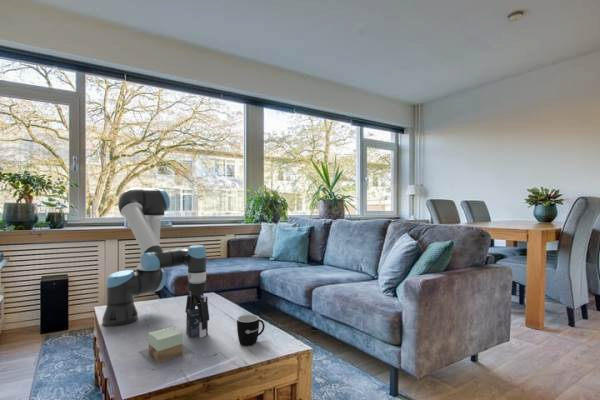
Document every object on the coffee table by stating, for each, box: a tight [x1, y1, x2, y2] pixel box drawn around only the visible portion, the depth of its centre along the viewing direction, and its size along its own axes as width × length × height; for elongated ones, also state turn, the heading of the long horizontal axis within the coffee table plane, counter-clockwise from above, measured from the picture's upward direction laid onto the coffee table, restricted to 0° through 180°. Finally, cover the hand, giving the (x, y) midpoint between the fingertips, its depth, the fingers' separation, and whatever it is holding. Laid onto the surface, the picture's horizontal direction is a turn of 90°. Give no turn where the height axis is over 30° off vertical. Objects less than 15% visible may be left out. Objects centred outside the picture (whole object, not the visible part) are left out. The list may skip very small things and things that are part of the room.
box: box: [185, 308, 209, 339], centre depth 145 cm, size 8×6×11 cm
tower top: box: [148, 326, 184, 351], centre depth 125 cm, size 9×9×4 cm
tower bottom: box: [148, 343, 184, 363], centre depth 125 cm, size 9×9×4 cm
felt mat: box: [138, 344, 194, 366], centre depth 127 cm, size 15×15×1 cm
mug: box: [236, 314, 266, 347], centre depth 137 cm, size 12×9×10 cm
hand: (197, 333), depth 145 cm, fingers open, 9 cm apart
